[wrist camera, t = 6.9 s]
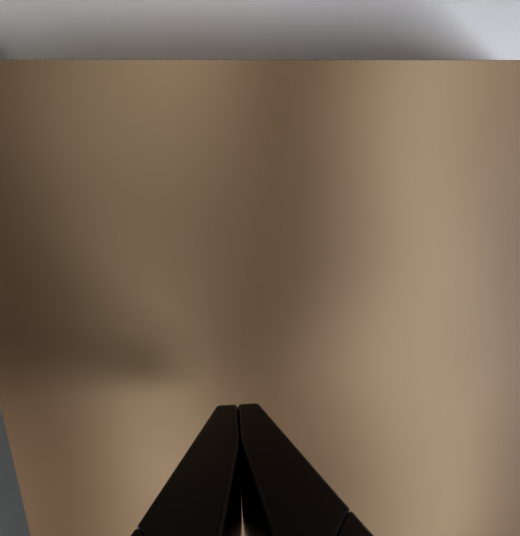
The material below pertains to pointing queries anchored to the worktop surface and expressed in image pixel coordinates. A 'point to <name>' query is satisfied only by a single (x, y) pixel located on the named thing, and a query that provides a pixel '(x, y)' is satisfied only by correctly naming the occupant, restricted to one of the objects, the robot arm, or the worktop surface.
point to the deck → (263, 280)
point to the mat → (10, 491)
